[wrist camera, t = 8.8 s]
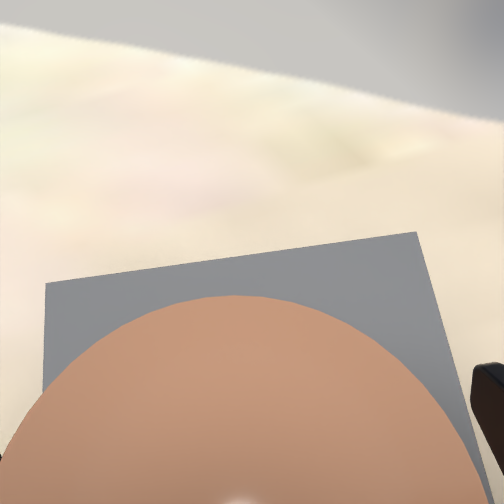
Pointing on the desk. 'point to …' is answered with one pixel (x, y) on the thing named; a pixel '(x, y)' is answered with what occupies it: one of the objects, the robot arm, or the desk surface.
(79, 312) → the base block
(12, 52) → the desk surface
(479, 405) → the robot arm
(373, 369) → the terracotta cylinder
